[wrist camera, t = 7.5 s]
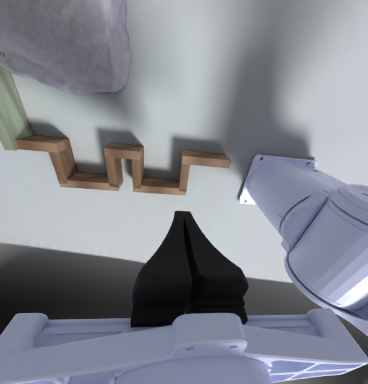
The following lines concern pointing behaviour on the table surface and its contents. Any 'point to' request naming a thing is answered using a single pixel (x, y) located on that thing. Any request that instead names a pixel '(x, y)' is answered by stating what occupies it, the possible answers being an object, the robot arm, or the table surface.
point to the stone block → (66, 43)
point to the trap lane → (64, 160)
